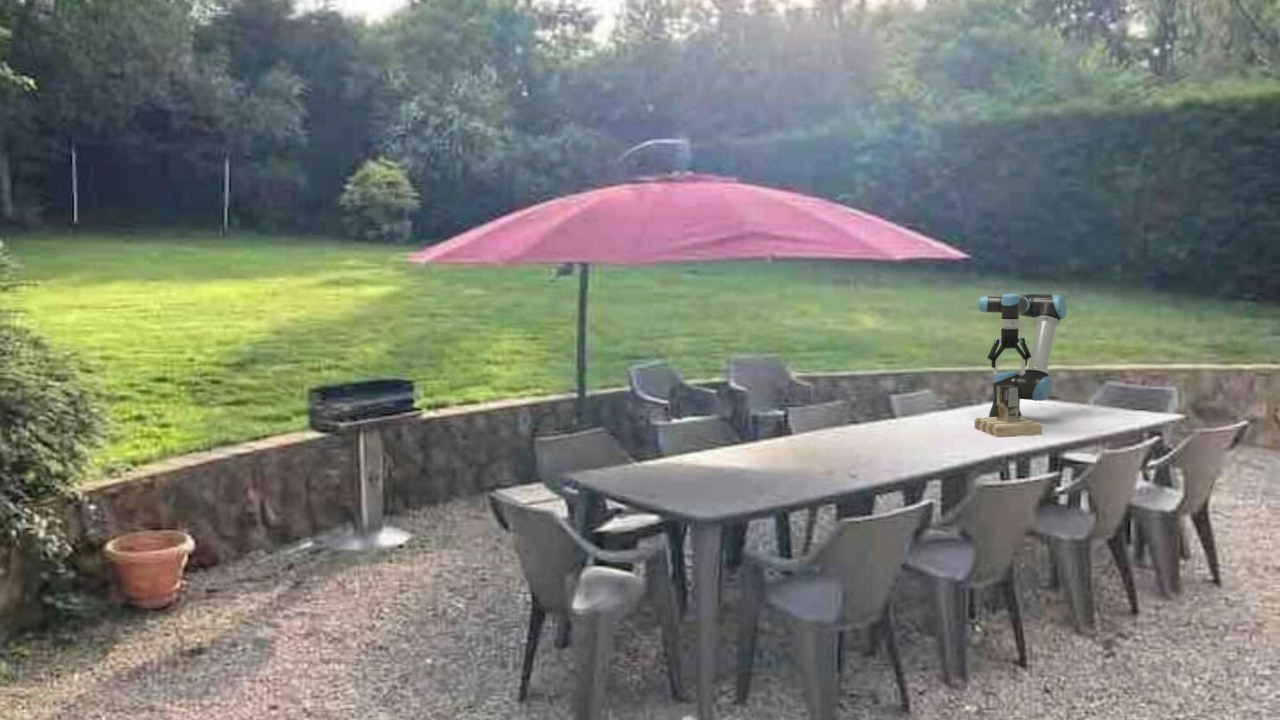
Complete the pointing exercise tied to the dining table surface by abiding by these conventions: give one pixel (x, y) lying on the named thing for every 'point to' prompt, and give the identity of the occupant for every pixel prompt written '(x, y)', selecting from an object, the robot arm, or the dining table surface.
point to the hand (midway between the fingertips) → (1009, 374)
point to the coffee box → (1008, 403)
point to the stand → (1008, 427)
